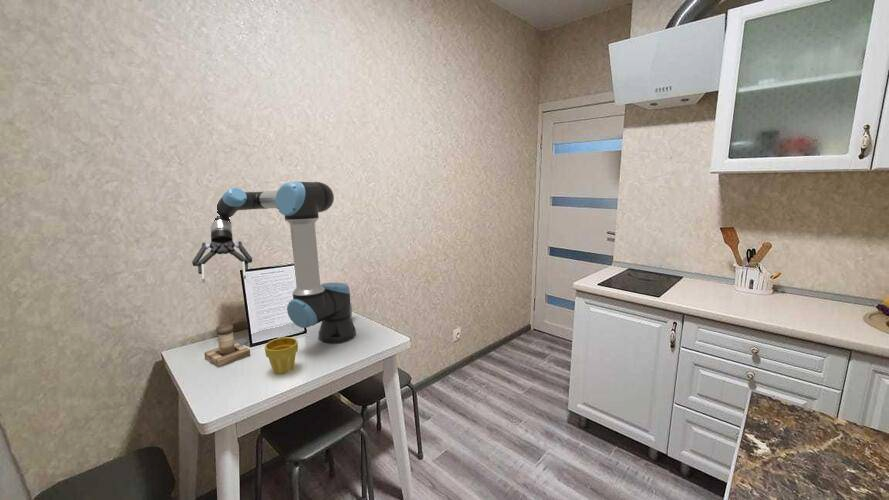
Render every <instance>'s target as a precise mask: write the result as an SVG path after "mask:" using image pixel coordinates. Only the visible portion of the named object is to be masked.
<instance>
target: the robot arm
mask: <svg viewBox="0 0 889 500" xmlns="http://www.w3.org/2000/svg"><path fill="white" fill-rule="evenodd" d="M334 199H335V197H334V192H333V189H332V188H331V187H330V186H329V185H328V184H326V183H323V182H320V181H296V180H295V181H289V182H284V183H283V184H282V185H281V186H279V188H278V189H277V190H266V191H244V190H243V189H241V188H238V187H234V186H233V187H230V188H229V189H227V191H225V192H224V193H223V194H222V196H221V197H220V199H218V200H219V202H218V204H217V210H218V211H217V213H218V214H219V215H220V216H217V218H215V220H216V221H215V220H214V222H213V223H212V226H211V228H210V243H206V242H201V248H200V249H199V250H198V252H197V253H196V255H195V257H194V258H193V259H192V261H191V263H192V266H193V267H197V269H198V270H197V271H198V272H197V273H198V274H199V275H201V279H202V280H201V281H202V282H201V283H205V282H206V276H205V275H206V274H205V264H207V262H208V261H209V260H210V259H212V258H213V257H215V255H217V254H218V255H222V254H223V255H228V254H230V255H232V256H233V257H235V258H236V259H237V260H239V261H240V262H241V266H242V267H241V268H242V277H243V280H246V271H249V264H251V263H253V257H252V256H251V255H250V253H249V252H248V251H247V249H246V248H245V247H244V246H243V242H242V241H241V240H240V241H238V242H234V239H233V229H232V228H233V226H232V221H231V222H230V219H229V217H231V216H232V217H233V216H234V215H235V214H236V213H237V212H239V211H247V210H248V211H250V210H262V209H263V210H266V209H277V210H278V212H279V213H280V214H281V215H283V216H284V221H286V222H287V223H288V224H289V228H290V237H291V246H292V255H293V266H294V276H295V277H294V279H295V288H294V290H292V300H290V301H289V302H288V304H287V306H286V311H287V312H286V313H287V314H288V317H289V319H290V321H291V322H293V324H294V325H295V326H297V327H299V328H302V329H304V328H305V329H306V328H310V327H312V326H315V325H317V324H319V323H321V324H320V327H319V330H318V340H319V341H320V342H322V343H325V344H341V343H345V341H346V342H348V340H349V341H351V340H353V339H354V338H355V337H356V327H355V325H354V324H355V323H354V322H353V319H352V316H351V310H350V302H351V293H350V292H351V291H350V286H349V285H348V284H347V283H342V282H324V283H321V277H320V276H321V275H320V266H319V265H320V264H319V255H318V245H317V244H318V243H317V232H316V222H317V221H318V220H319V218H320V217H319V213H322V212H326V211H327V210H329V209H330V208H331V207H332V206H333V203H334ZM232 217H231V218H232ZM228 221H229V222H228ZM235 247H236V249H238V250H239V251H240V252H238V251H237V250H236V249H234V248H235ZM209 248H210V251H209V252H207V254H205V253H206V251H207V250H208V249H209ZM203 255H205V256H203ZM354 336H355V337H354ZM353 337H354V338H353ZM350 339H351V340H350Z"/></svg>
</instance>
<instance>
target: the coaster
mask: <svg viewBox="0 0 889 500" xmlns="http://www.w3.org/2000/svg"><path fill="white" fill-rule="evenodd" d="M234 342H237V343H239V344H241V345H242V346H245V345H246V344H248V342H249V340H248V339H247V338H238V339H236V338H235V339H234Z"/></svg>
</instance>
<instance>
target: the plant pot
mask: <svg viewBox="0 0 889 500" xmlns="http://www.w3.org/2000/svg"><path fill="white" fill-rule="evenodd" d="M298 350H299V342H298V340H297V338H294V337H290V336H289V337H287V336H286V337H279V338H275V339H272V340H270V341H268V342H267V343H266V344H265V345H264V351H265V352H264V354H265V357H266V358H268V360H269V363H270V366H271V369H272V372H273V373H274V374H276V375H277V374H278V375H281V374H286V373H289V372H291V371H292V370H294V368H295V362H296V355H297V353H298Z"/></svg>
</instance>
